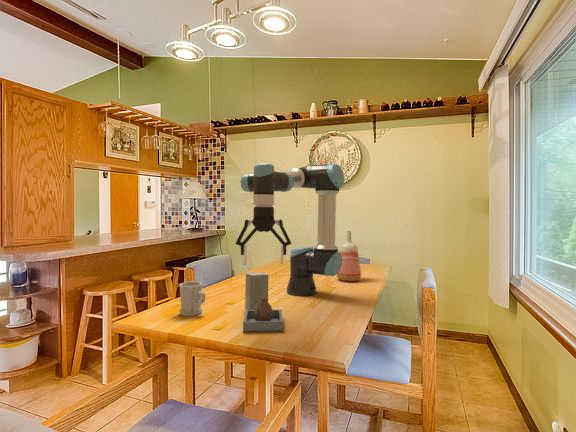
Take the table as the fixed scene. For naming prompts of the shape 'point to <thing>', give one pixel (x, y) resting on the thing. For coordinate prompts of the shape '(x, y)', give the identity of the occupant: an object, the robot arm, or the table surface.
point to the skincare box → (255, 289)
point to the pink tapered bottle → (349, 261)
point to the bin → (263, 322)
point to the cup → (191, 298)
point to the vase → (263, 311)
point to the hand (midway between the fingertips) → (263, 264)
